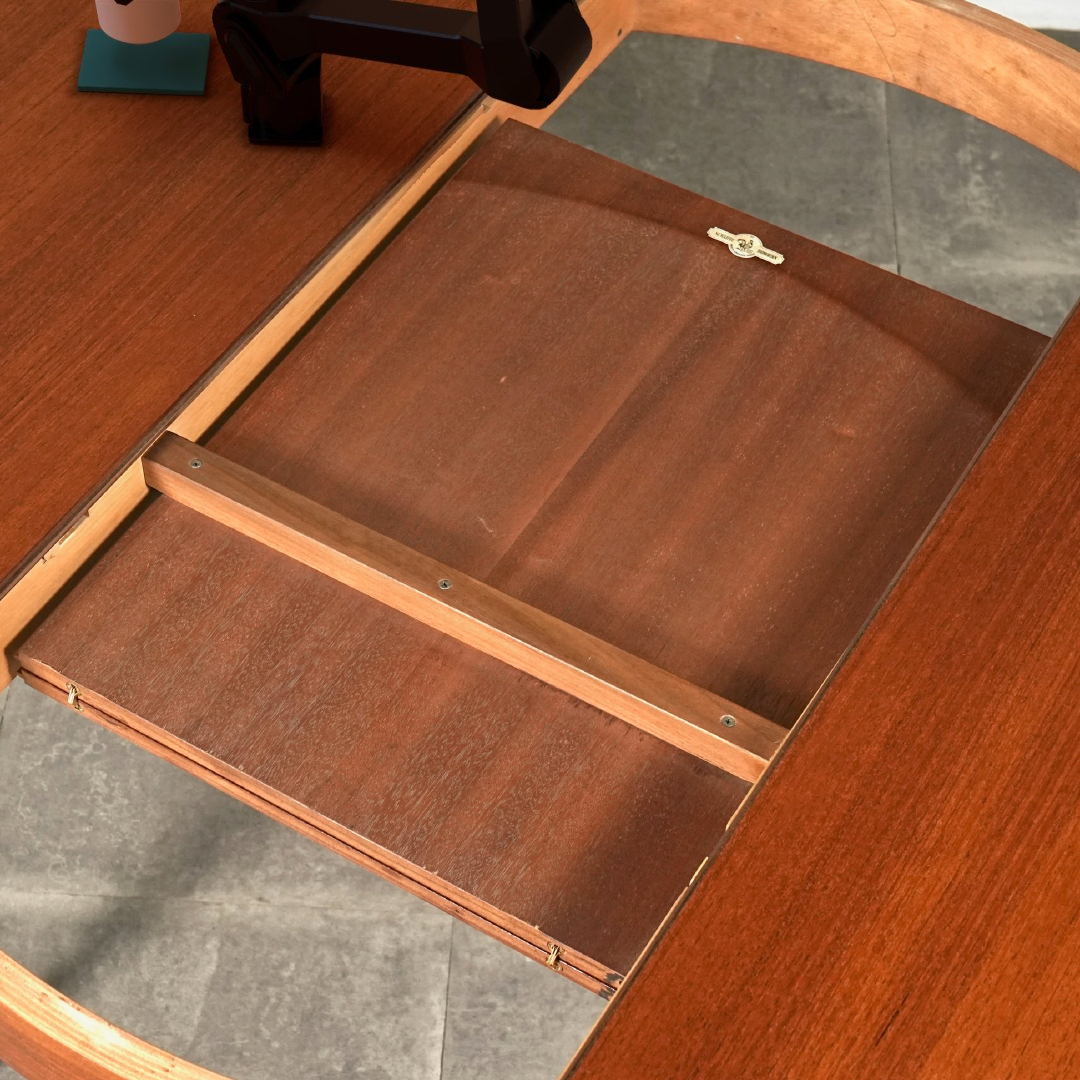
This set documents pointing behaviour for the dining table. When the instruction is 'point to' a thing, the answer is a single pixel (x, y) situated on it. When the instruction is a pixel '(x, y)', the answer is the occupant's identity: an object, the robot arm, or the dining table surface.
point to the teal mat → (145, 64)
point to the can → (139, 19)
